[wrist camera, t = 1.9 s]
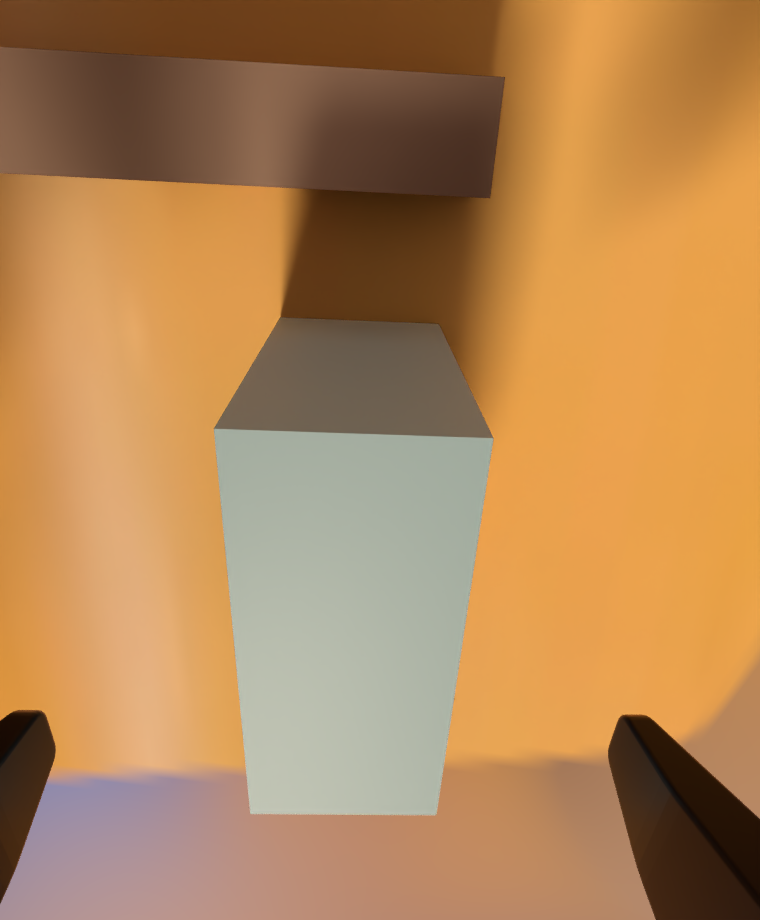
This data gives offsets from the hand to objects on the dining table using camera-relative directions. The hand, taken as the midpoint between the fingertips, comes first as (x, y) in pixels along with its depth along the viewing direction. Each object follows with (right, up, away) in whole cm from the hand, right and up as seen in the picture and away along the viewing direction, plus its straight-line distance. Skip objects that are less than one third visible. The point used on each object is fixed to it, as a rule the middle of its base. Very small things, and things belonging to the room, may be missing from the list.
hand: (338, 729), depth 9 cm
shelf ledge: (-5, +11, +3) cm, 13 cm away
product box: (0, +4, +7) cm, 8 cm away
